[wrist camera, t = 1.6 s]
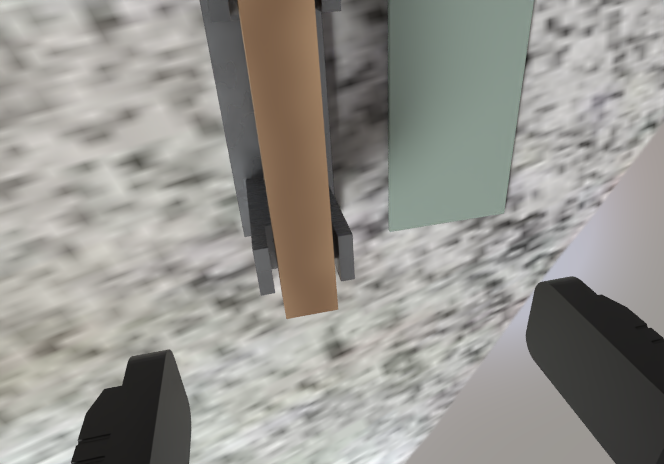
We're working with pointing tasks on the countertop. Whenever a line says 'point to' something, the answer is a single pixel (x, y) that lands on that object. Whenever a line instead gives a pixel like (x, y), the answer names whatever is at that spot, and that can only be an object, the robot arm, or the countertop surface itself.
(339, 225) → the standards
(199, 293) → the countertop surface
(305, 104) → the rail
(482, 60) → the mat
